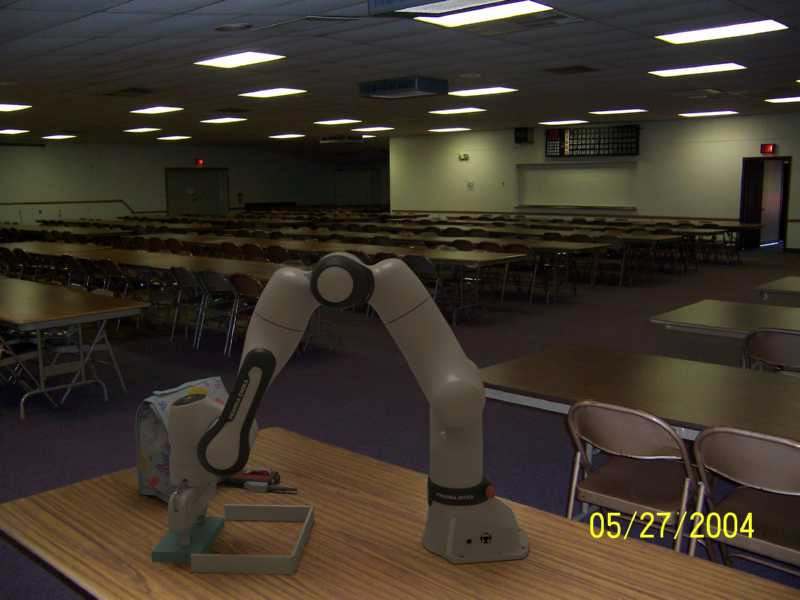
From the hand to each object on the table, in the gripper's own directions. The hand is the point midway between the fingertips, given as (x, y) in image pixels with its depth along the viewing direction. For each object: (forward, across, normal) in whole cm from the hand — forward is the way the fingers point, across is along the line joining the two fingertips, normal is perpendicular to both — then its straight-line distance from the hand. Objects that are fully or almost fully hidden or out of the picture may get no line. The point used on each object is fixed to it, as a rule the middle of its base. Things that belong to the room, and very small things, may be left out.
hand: (194, 533), depth 152 cm
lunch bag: (+2, +29, +11) cm, 31 cm away
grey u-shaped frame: (+2, 0, -13) cm, 14 cm away
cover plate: (+3, 0, +1) cm, 3 cm away
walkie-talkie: (+3, +31, -8) cm, 32 cm away
